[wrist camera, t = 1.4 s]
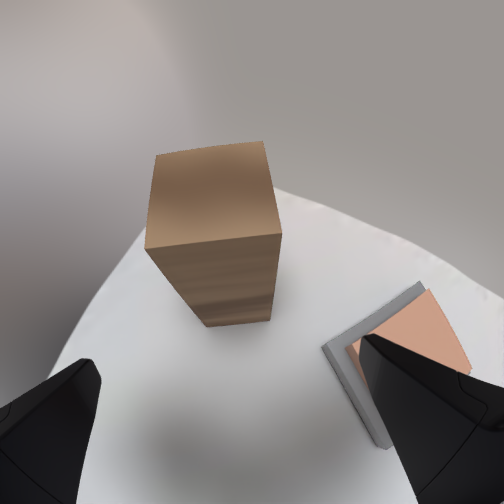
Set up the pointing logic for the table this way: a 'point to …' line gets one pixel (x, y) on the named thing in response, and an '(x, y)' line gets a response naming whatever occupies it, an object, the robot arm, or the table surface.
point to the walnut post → (216, 231)
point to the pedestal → (400, 332)
